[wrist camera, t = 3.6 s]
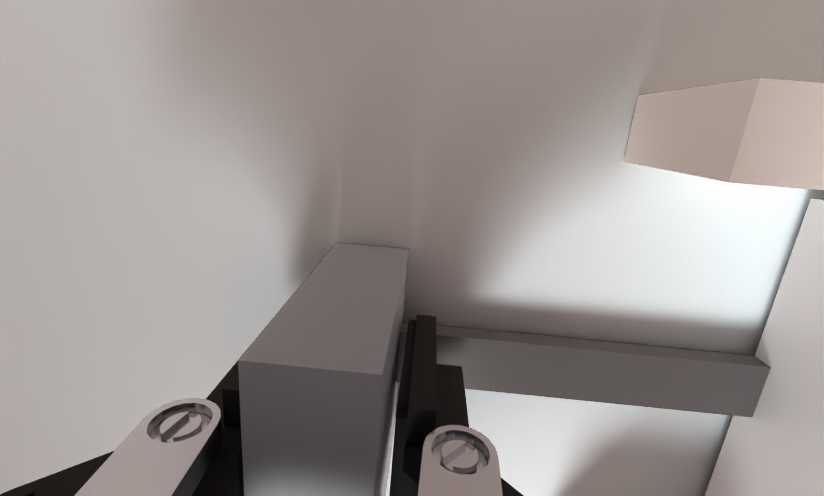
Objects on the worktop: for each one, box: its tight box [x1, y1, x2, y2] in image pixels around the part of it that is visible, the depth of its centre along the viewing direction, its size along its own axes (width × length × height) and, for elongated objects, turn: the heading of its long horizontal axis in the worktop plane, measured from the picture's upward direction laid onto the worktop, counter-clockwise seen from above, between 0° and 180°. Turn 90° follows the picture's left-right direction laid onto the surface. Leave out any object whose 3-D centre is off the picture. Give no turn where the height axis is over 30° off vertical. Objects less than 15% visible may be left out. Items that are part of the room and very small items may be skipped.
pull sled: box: [238, 198, 824, 496], centre depth 9 cm, size 11×23×6 cm, turn 86°
